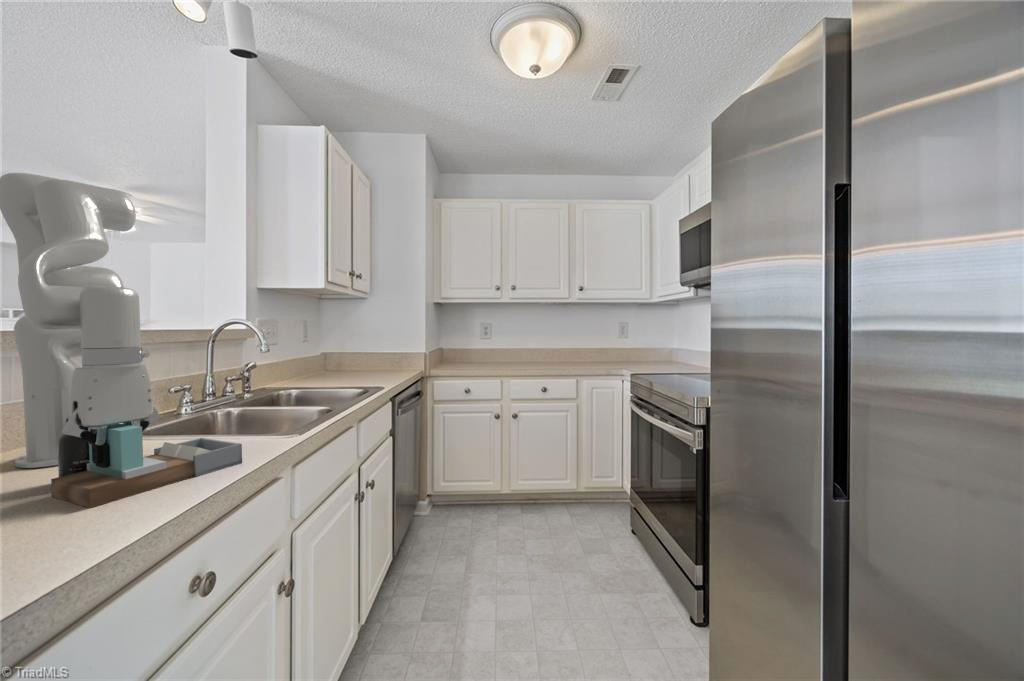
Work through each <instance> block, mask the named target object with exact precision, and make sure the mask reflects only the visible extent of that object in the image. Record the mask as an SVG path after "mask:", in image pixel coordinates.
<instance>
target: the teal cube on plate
mask: <svg viewBox="0 0 1024 681" xmlns="http://www.w3.org/2000/svg"><path fill="white" fill-rule="evenodd" d="M88 430H89V427H88ZM105 440H106V444H109V447H110V466H109V467H107V468H102V467H97V466H96V465H95V464H94V463H93V461H92V444H89V458H90V463H88V464H87V471H92V472H96V473H100V474H105V475H109V476H113V477H118V478H122V479H129V478H132V477H136V476H140V475H143V474H147V473H151V472H154V471H158V470H162V469H165V468H167V461H161V460H156V459H151V458H145V456H144V448H143V445H144V444H143V432H142V427H138V426H131V425H124V424H123V423H119V424H113V425H107V428H106V439H105Z"/></svg>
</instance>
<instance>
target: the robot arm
mask: <svg viewBox="0 0 1024 681" xmlns="http://www.w3.org/2000/svg"><path fill="white" fill-rule="evenodd" d="M0 212H1V215H2V217H3V219H4V221H5V222H6V225H7V226H8V228H9V230H10V231H11V233H12V235H13V237H14V241H15V243H16V250H17V261H18V275H17V276H18V277H17V284H18V291H19V296H20V297H19V298H20V301H21V306H22V310H23V314H24V316H22V317H20V318H19V319H17V321H16V322H15V324H14V327H13V336H14V340H15V344H16V348H17V351H18V355H19V360H20V366H21V377H22V390H23V411H24V412H23V414H24V434H25V439H24V440H25V455H24V456H20V457H19V458H17V459H15V460H14V466H15V467H16V468H19V469H36V468H38V469H39V468H46V467H54V466H58V440H59V438H60V437H61V436H62V435H63V434H66V435H71V436H76V437H79V438H81V439H83V440H85V441H87V442H88V443H89V444H92V461H93V463H94V464H95V465H96V466H97V467H102V468H107V467H109V466H110V447H109V444H106V440H105V439H106V428H107V425H113V424H124V425H131V426H138V427H142V433H143V432H144V431H145V430H146V429H147V428H148V427H149V426H150V425H151V424H153V423H154V422H156V421H157V420H159V419H160V418H161V415H160V413H159V412H158V411H157V408H155V406H154V399H153V398H154V397H153V388H152V383H151V382H152V381H151V379H150V375H149V371H148V368H147V365H146V364H142V362H144V361H143V360H144V358H150V356H151V355H150V351H149V350H148V349H145V350H144V349H143V347H141V345H142V342H141V316H140V315H141V314H140V313H141V311H140V310H141V308H140V296H139V293H138V292H137V291H136V290H135V289H133V288H129V287H125V286H124V282H123V281H122V278H121V276H120V275H119V274H118V273H117V272H116V271H114V270H113V269H109V268H107V267H106V268H105V267H100V266H99V267H98V266H91V265H90V266H89V265H88V266H87V264H92V263H96V262H97V261H99V260H102V259H103V258H104V257H105V256H106V255H108V252H109V250H110V249H109V248H110V246H109V241H108V239H107V236H106V232H105V230H110V231H116V232H122V233H123V232H128V231H129V230H131V229H132V228H133V227H134V225H135V224H136V216H137V215H136V209H135V206H134V203H133V201H132V200H131V199H130V198H129V196H128V195H127V194H126V193H124V192H122V191H119V190H115V189H111V188H107V187H101V186H97V185H92V184H88V183H87V184H86V183H85V182H84V183H82V182H80V181H79V182H78V181H72V180H68V179H67V180H66V179H59V178H55V177H50V176H44V175H40V174H33V173H24V172H9V173H4V174H2V175H1V176H0ZM74 357H81V366H79V365H78V364H77V363H75V362H74V361H72V359H71V358H74ZM67 418H69V420H68V422H67V423H66V419H67ZM79 426H84V427H89V430H88V431H86V430H82V429H80V428H79Z"/></svg>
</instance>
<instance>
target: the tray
mask: <svg viewBox="0 0 1024 681" xmlns="http://www.w3.org/2000/svg"><path fill="white" fill-rule="evenodd" d="M176 444H178V445H186V446H193V447H199V448H203V449H206V450H210V451H209V452H205V453H201V454H197V455H194V456H193V461H194V477H193V478H197V477H200V475H201V476H203V474H204V475H207V474H209V473H213V471H214V472H216V470H217V471H221V470H223V469H226V467H227V468H230V467H233V466H236V465H240V464H242V463H243V445H242V443H240V442H233V441H232V442H231V441H227V440H226V441H225V440H218V439H212V438H204V437H201V438H200V437H199V438H195V439H192V440H187V441H182V442H179V443H178V442H177V443H176ZM161 448H162V446H161V447H157V448H154V449H153V453H154V454H159V452H160V450H161ZM154 454H153V455H154ZM206 473H207V474H206ZM196 476H197V477H196Z"/></svg>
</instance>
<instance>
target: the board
mask: <svg viewBox="0 0 1024 681" xmlns="http://www.w3.org/2000/svg"><path fill="white" fill-rule="evenodd" d="M144 457H145V458H151V459H156V460H161V461H167V468H165V469H162V470H158V471H154V472H151V473H147V474H143V475H140V476H136V477H132V478H129V479H122V478H118V477H113V476H109V475H105V474H100V473H96V472H92V471H83V472H79V473H74V474H70V475H66V476H62V477H59V476H58V477H54V478H51V479H50V480H51V481H50V482H51V497H52V498H55V499H58V500H61V501H65V502H69V503H72V504H74V505H79V506H82V507H86V508H89V509H92V508H95V507H98V506H99V507H100V506H102V505H105V504H106V505H107V504H109V503H112V502H114V501H119V500H122V499H124V498H128V497H131V496H135V495H138V494H142V493H145V492H149V491H152V490H155V489H158V488H162V487H164V486H169V485H171V484H173V483H179V482H181V481H184V479H185V480H188V479H191V478H195V477H194V461H191V460H186V459H180V458H175V457H169V456H164V455H158V454H150V455H145V456H144ZM190 477H191V478H190ZM187 478H188V479H187Z"/></svg>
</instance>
